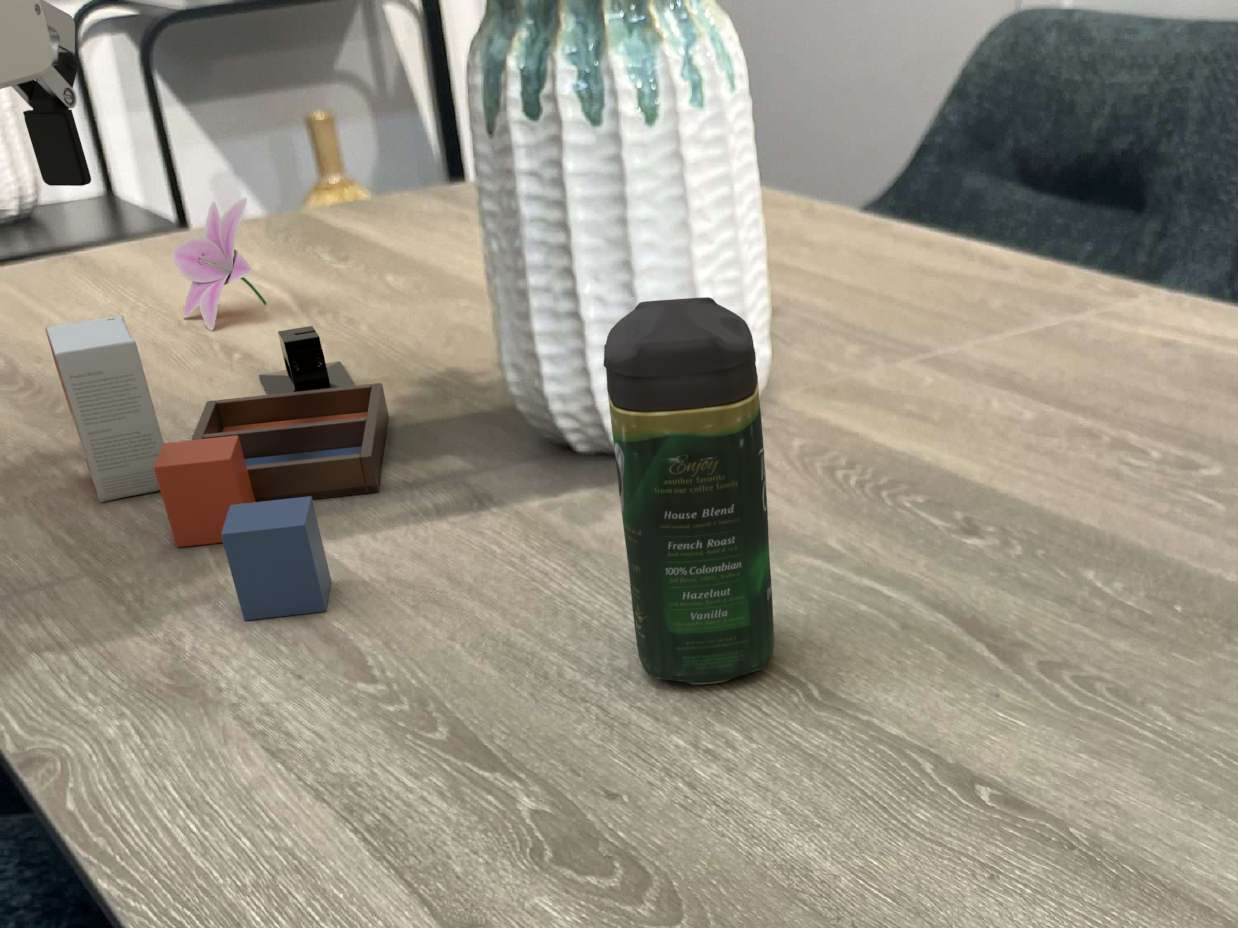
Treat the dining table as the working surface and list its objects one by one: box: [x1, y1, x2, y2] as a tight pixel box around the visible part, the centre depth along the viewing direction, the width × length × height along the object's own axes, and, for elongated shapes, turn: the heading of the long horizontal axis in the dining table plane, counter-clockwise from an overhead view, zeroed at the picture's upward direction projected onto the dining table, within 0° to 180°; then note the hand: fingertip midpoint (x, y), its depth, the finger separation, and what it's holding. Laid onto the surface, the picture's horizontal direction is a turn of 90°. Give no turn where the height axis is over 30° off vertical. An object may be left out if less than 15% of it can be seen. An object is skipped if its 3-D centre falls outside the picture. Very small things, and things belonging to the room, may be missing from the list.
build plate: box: [258, 325, 356, 395], centre depth 141 cm, size 12×7×5 cm, turn 21°
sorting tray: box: [190, 382, 389, 502], centre depth 128 cm, size 14×18×3 cm
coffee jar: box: [603, 296, 775, 685], centre depth 92 cm, size 10×8×19 cm
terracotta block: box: [154, 435, 255, 548], centre depth 116 cm, size 5×5×6 cm
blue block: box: [221, 496, 332, 622], centre depth 106 cm, size 5×5×6 cm
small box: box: [44, 315, 165, 503], centre depth 124 cm, size 8×6×10 cm
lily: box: [171, 197, 268, 332], centre depth 162 cm, size 12×12×10 cm
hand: (14, 203), depth 100 cm, fingers open, 9 cm apart
